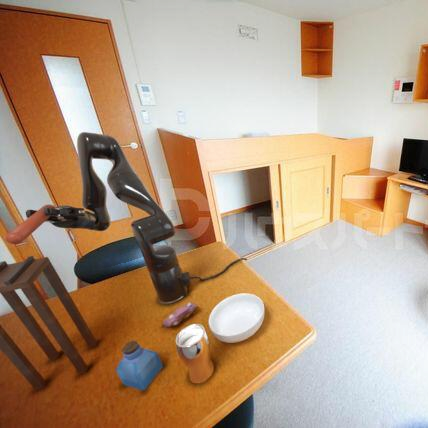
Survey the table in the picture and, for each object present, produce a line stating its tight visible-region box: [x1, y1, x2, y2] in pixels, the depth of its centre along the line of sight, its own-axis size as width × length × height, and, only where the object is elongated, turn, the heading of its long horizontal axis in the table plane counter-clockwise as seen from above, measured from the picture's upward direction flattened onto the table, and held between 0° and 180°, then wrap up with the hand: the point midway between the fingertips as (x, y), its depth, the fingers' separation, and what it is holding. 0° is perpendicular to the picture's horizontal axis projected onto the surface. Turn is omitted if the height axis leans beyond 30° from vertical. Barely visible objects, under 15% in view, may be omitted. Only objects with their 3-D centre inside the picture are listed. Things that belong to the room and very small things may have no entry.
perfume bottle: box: [115, 340, 164, 391], centre depth 62 cm, size 6×6×12 cm
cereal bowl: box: [208, 292, 265, 344], centre depth 77 cm, size 17×17×7 cm
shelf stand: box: [0, 255, 98, 391], centre depth 60 cm, size 10×10×33 cm
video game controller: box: [162, 302, 198, 328], centre depth 80 cm, size 10×5×7 cm, turn 148°
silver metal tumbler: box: [175, 323, 215, 384], centre depth 62 cm, size 7×7×15 cm
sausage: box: [4, 204, 57, 245], centre depth 65 cm, size 21×3×3 cm, turn 27°
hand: (37, 212), depth 67 cm, fingers closed on sausage, 3 cm apart
